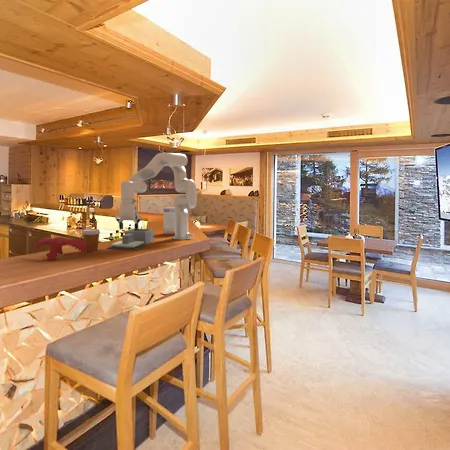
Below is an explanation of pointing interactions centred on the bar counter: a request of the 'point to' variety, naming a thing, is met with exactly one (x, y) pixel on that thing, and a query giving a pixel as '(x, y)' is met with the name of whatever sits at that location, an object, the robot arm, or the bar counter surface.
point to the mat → (128, 248)
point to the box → (141, 235)
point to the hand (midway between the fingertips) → (128, 229)
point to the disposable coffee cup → (91, 239)
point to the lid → (127, 242)
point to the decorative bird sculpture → (60, 245)
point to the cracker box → (169, 220)
